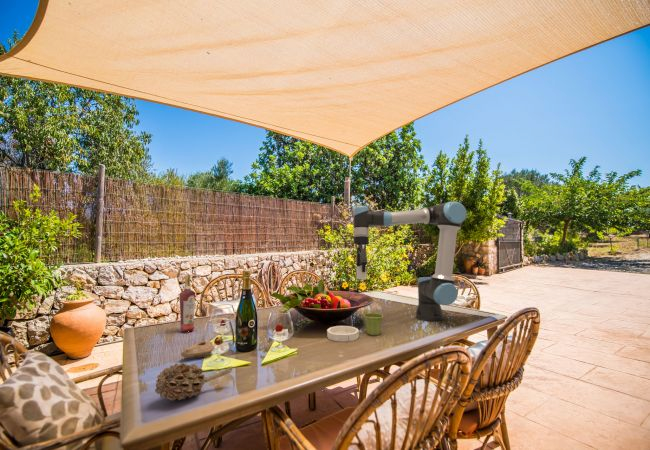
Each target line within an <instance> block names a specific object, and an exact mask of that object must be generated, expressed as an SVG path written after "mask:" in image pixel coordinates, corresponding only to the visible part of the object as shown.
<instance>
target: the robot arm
mask: <svg viewBox="0 0 650 450" xmlns="http://www.w3.org/2000/svg"><path fill="white" fill-rule="evenodd" d="M353 209H354V210H353V229H352V232H353V236H354V237H353V244H354V246H355V245H357V246H356V261H355V265H356V280H367V265H368V260H367V259H368V258H367V245H369V242H370V241H369V240H370V239H369V235H370V233H369V231H370V230H369V229H370V228H374V227H375V228H376V227H390V226H398V225H400V226H401V225H410V224H424V225H437V228H438V229H439V235H438V243H437V252H436V262H435V267H434V268H435V269H434V270H435V271H434V274H433V275H431V276H425V277H422V276H421V277H418V279H417V297H418V304H417V307H416V311H415V318H416V319H418V320H421V321H426V322H427V321H428V322H439V321H443V320H444V317H445V316H444V315H445V314H444V313H443V310H442V306H450V305H452V304H453V303H455V302H456V300H457V298H458V289H457V286H455V281H456V280H455V278H454V277H453V270H454V262H455V261H454V260H455V252H456V244H457V236H458V231H459V230H460V229H461V228H462V223H463V222H464V221H466V218H467V216H468V215H467V210H466V207H465V206H464V205H463V204H462V203H461V202H459V201H448V202H444V203H439V204H436V205H433V206H427V207H423V208H422V209H412V210H400V211H399V210H398V211H378V210H377V211H373V210H369V209H370V208H369V207H368V206H365V205H358V206H355V207H354V208H353ZM461 230H462V229H461Z"/></svg>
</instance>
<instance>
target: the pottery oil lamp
mask: <svg viewBox="0 0 650 450" xmlns="http://www.w3.org/2000/svg"><path fill="white" fill-rule="evenodd" d="M214 349H215V346H214V344H213V341H206V340H200V341H198V342H196V343H194V344H193V345H191V346H189V347H187V348H185V349H183V350H182V351H181V352H180V355H181V356H182V357H183V358H185V359H186V358H187V359H188V358H189V359H190V358H195V359H198V358H199V359H200V358H205V357H206V356H207V355H209V354H210V353H212V352H213V351H214ZM205 355H206V356H205ZM204 356H205V357H204Z"/></svg>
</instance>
